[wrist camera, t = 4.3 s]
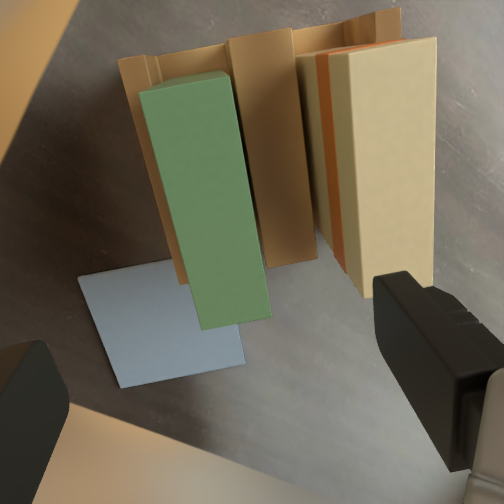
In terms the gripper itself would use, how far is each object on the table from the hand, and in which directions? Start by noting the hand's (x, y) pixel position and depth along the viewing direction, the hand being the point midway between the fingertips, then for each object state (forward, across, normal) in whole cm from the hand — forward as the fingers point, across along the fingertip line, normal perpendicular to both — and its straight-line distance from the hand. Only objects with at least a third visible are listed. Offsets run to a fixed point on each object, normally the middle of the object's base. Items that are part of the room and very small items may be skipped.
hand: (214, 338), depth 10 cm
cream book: (+23, -8, 0) cm, 24 cm away
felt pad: (+24, +7, +14) cm, 28 cm away
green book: (+23, 0, 0) cm, 23 cm away
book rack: (+24, -4, 0) cm, 24 cm away
